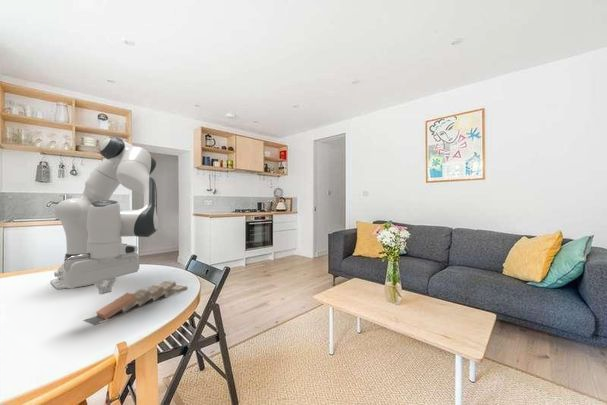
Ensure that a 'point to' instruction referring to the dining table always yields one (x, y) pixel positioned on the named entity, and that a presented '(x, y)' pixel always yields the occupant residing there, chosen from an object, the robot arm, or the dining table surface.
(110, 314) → the terracotta domino
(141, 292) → the domino
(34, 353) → the dining table surface
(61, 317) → the dining table surface
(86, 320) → the slate mat
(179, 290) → the domino
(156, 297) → the domino
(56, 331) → the dining table surface
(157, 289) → the domino
